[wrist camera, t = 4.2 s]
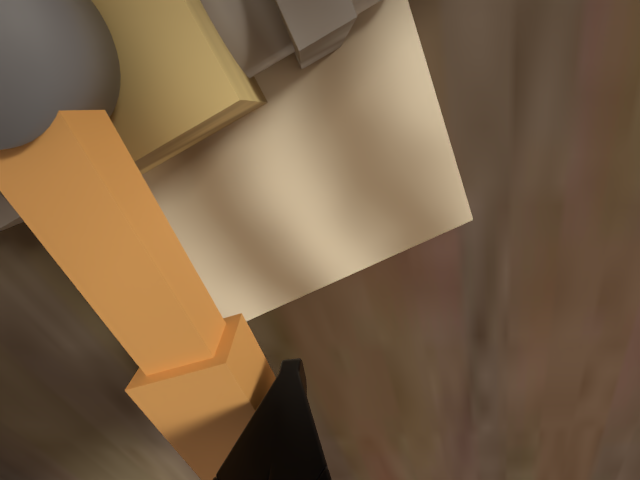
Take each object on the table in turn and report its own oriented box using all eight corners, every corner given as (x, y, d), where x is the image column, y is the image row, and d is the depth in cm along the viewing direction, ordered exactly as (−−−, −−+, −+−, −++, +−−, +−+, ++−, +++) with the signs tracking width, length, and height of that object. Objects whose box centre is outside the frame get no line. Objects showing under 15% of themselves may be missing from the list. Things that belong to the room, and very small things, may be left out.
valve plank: (318, -244, 9) (346, -1050, 3) (461, 211, 15) (567, 284, 9) (-94, 68, 11) (-546, 25, 5) (171, 343, 18) (99, 468, 12)
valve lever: (49, -88, 5) (-80, -186, 3) (306, 419, 10) (306, 477, 9) (-110, -18, 5) (-304, -76, 4) (222, 439, 11) (207, 499, 9)
